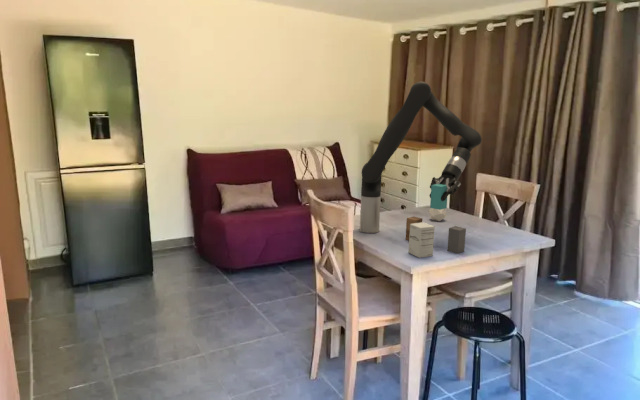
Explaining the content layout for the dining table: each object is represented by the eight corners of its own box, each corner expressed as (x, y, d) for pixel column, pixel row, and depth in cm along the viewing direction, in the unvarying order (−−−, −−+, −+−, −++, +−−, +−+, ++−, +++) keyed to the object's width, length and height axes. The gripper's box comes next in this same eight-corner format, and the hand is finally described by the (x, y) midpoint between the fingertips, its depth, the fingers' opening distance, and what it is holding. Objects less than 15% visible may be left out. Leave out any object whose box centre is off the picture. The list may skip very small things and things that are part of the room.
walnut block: (414, 241, 221) (415, 220, 219) (405, 239, 225) (406, 218, 222) (421, 239, 224) (422, 218, 222) (412, 237, 228) (413, 216, 226)
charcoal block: (457, 253, 205) (459, 230, 203) (447, 250, 209) (448, 228, 207) (464, 251, 208) (466, 228, 206) (453, 248, 212) (455, 226, 210)
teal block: (439, 209, 210) (441, 186, 208) (430, 207, 214) (431, 185, 212) (446, 208, 214) (448, 185, 212) (436, 206, 217) (438, 183, 215)
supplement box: (407, 252, 205) (409, 223, 202) (422, 250, 208) (424, 221, 206) (418, 258, 199) (420, 227, 196) (433, 256, 202) (435, 226, 199)
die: (449, 222, 260) (445, 205, 264) (445, 217, 253) (441, 200, 257) (434, 225, 263) (430, 209, 267) (429, 221, 256) (426, 204, 260)
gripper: (437, 161, 220) (419, 191, 215) (465, 165, 210) (447, 196, 204) (443, 172, 225) (426, 201, 219) (471, 176, 214) (453, 207, 209)
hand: (436, 198), depth 212 cm, fingers closed on teal block, 5 cm apart
